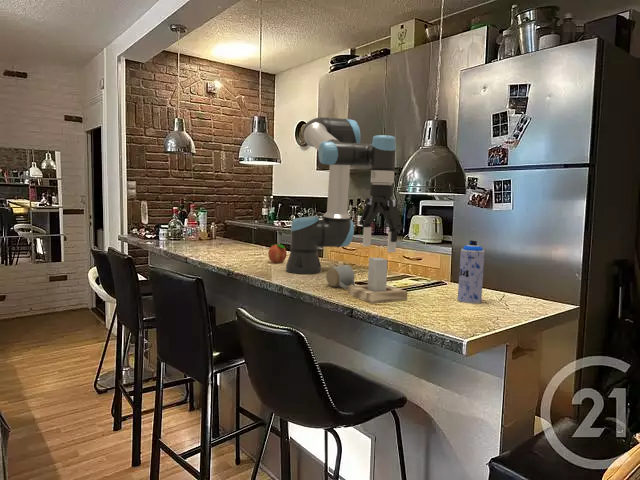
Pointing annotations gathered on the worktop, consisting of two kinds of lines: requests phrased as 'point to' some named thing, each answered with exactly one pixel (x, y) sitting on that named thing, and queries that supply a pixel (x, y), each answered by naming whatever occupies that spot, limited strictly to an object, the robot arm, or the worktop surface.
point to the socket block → (377, 294)
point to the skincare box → (377, 274)
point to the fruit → (277, 253)
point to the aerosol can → (471, 273)
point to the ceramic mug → (340, 276)
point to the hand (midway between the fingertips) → (378, 249)
